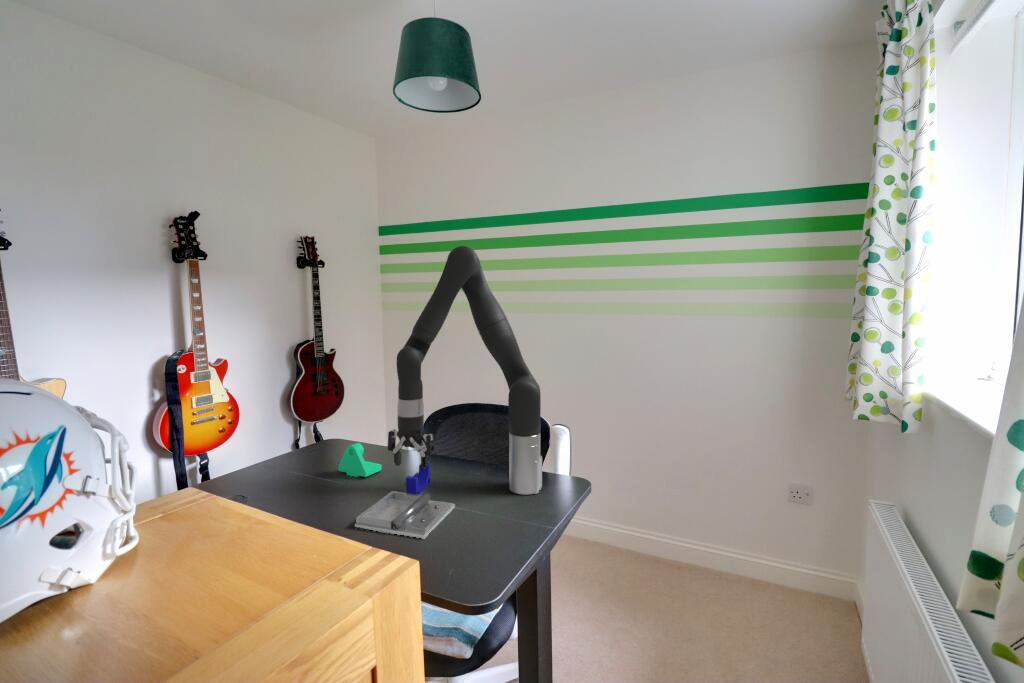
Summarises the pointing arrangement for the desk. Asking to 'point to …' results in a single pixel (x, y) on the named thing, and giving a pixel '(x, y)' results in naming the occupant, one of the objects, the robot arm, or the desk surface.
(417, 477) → the blue stepped long block
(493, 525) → the desk surface
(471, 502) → the desk surface
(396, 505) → the hinge plate
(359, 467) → the camera mount
